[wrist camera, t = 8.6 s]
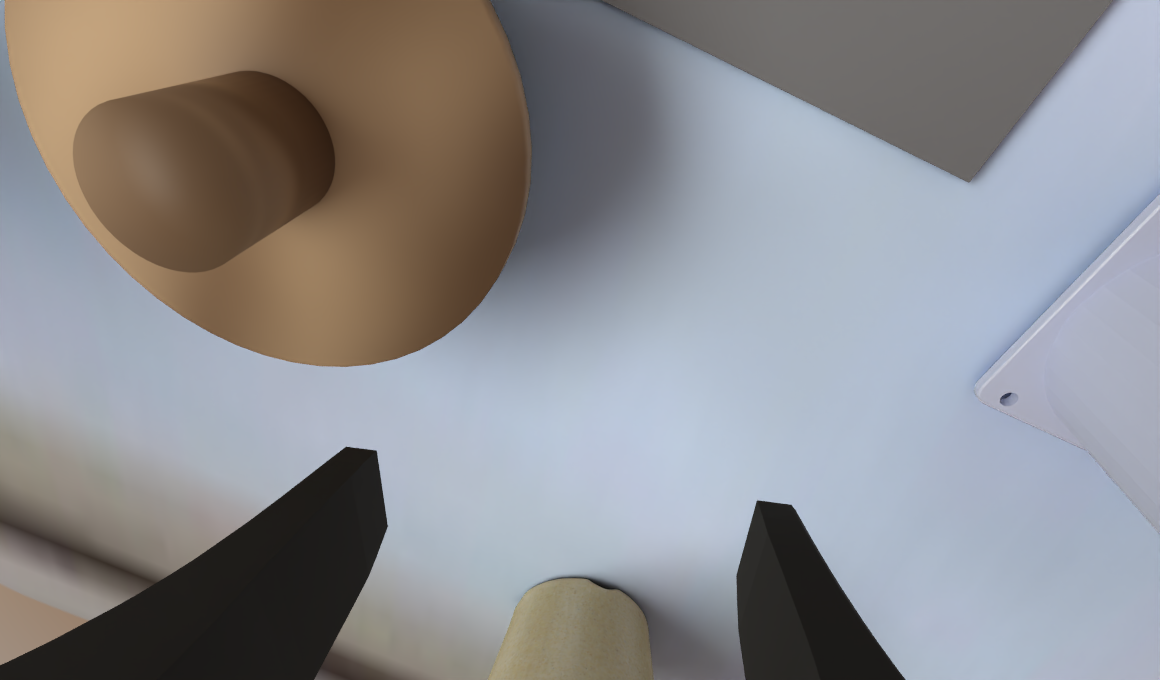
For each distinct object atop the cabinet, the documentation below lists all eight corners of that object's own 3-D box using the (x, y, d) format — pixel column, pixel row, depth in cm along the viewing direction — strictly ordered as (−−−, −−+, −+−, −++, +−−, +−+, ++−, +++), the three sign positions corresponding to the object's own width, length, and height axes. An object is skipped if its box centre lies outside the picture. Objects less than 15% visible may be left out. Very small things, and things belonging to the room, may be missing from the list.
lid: (617, -11, 13) (594, -4, 9) (447, 412, 19) (392, 519, 15) (20, -313, 11) (-292, -449, 8) (47, 245, 17) (-120, 317, 14)
